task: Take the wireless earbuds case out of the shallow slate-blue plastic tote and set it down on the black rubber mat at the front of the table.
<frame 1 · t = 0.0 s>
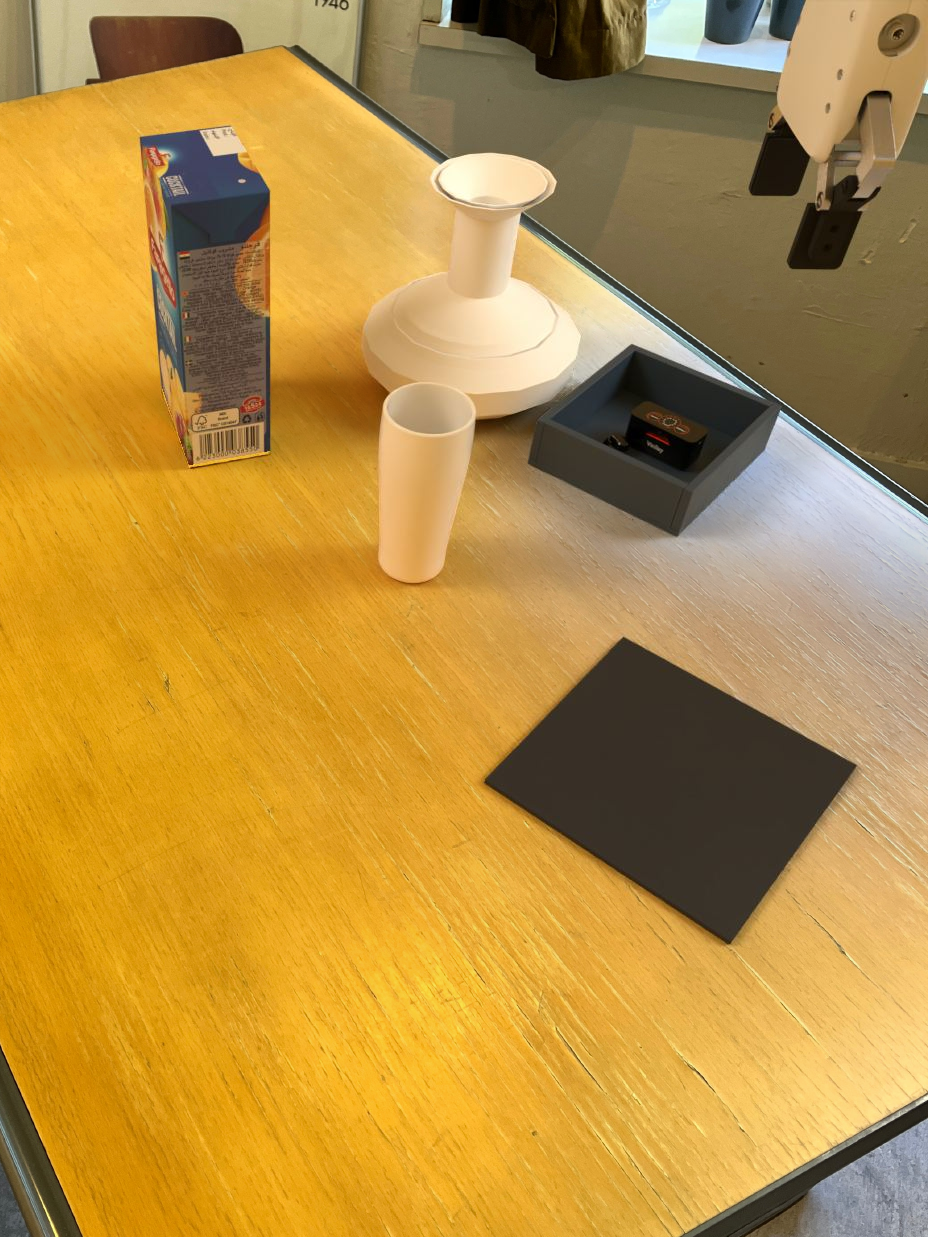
hand: (791, 229, 73), 26 cm above the table, tool pointing down, fingers open, 9 cm apart
drinking glass: (410, 565, 91), on the table
white ceramic vase shape: (463, 381, 108), on the table
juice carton: (214, 425, 104), on the table
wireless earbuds: (647, 454, 100), resting on tote
tote: (646, 456, 100), on the table
mat: (669, 775, 77), on the table
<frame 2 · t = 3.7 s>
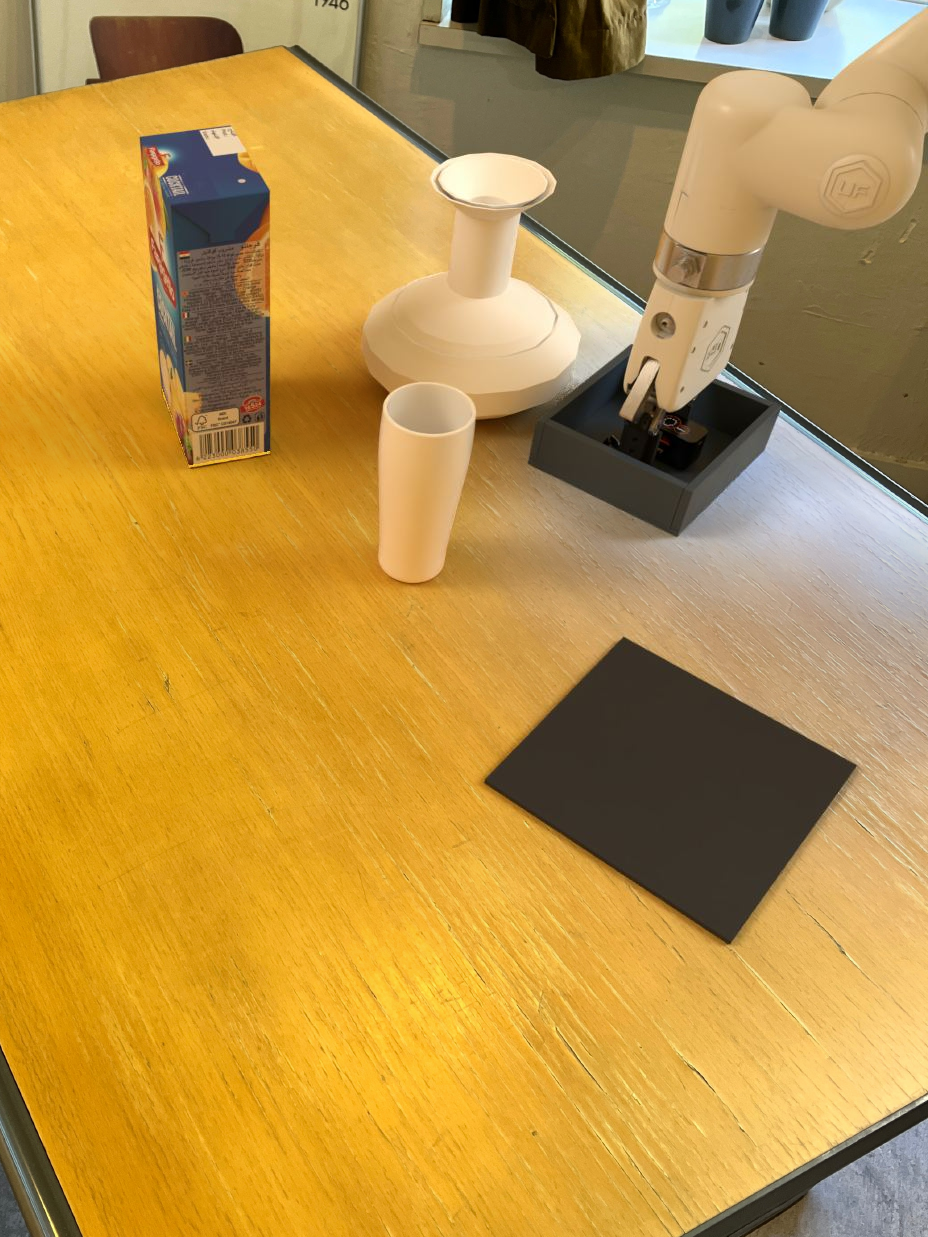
hand: (649, 447, 99), 1 cm above the table, tool pointing down, fingers closed on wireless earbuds, 4 cm apart
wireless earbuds: (647, 454, 100), resting on tote, touching gripper
everything else where it was.
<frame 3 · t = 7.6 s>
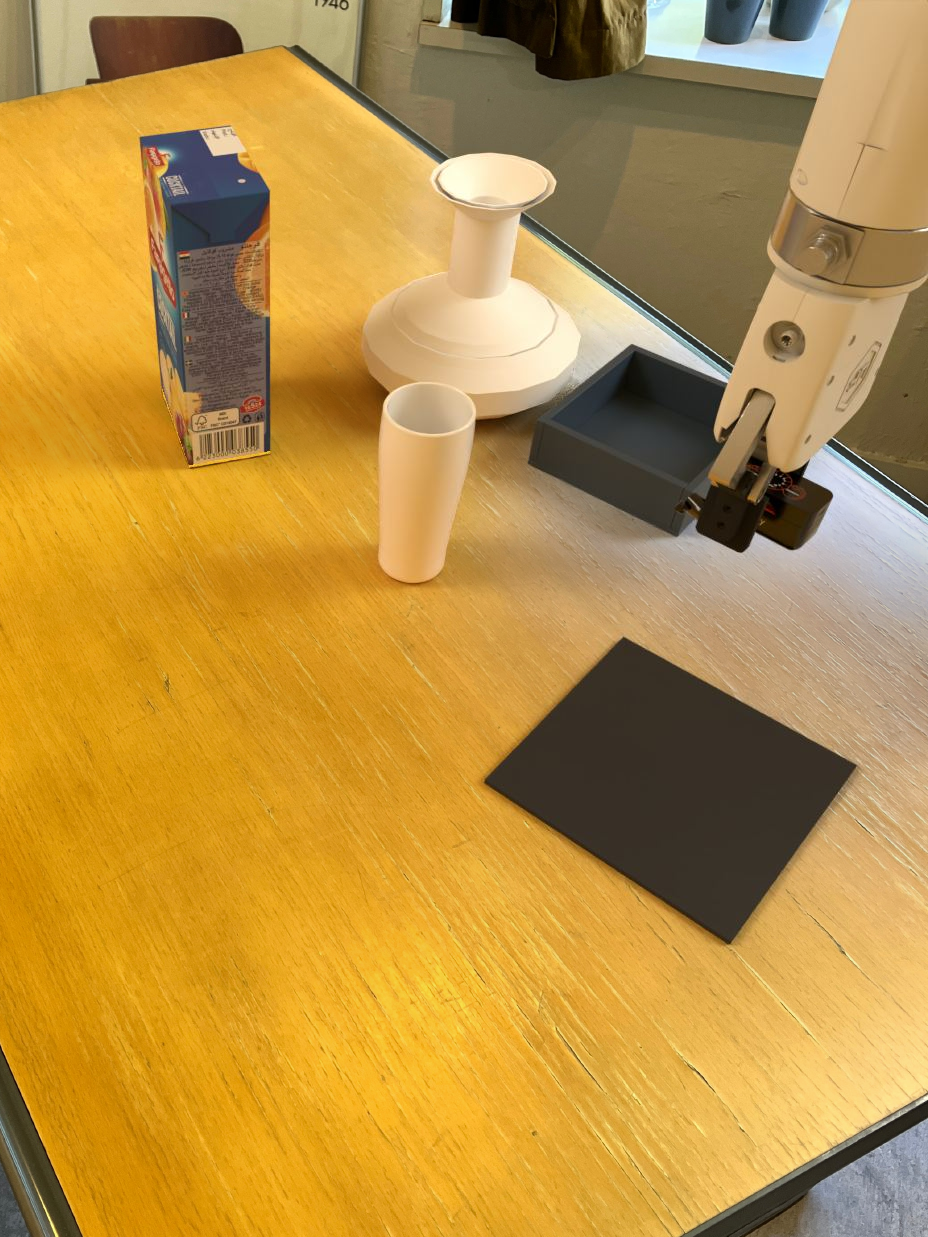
hand: (743, 516, 68), 17 cm above the table, tool pointing down, fingers closed on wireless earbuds, 4 cm apart
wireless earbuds: (739, 524, 69), point 17 cm above the table, touching gripper
everything else where it was.
when the fingers open (1 cm above the table, at t = 11.9 s): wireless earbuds stays where it is, resting on mat.
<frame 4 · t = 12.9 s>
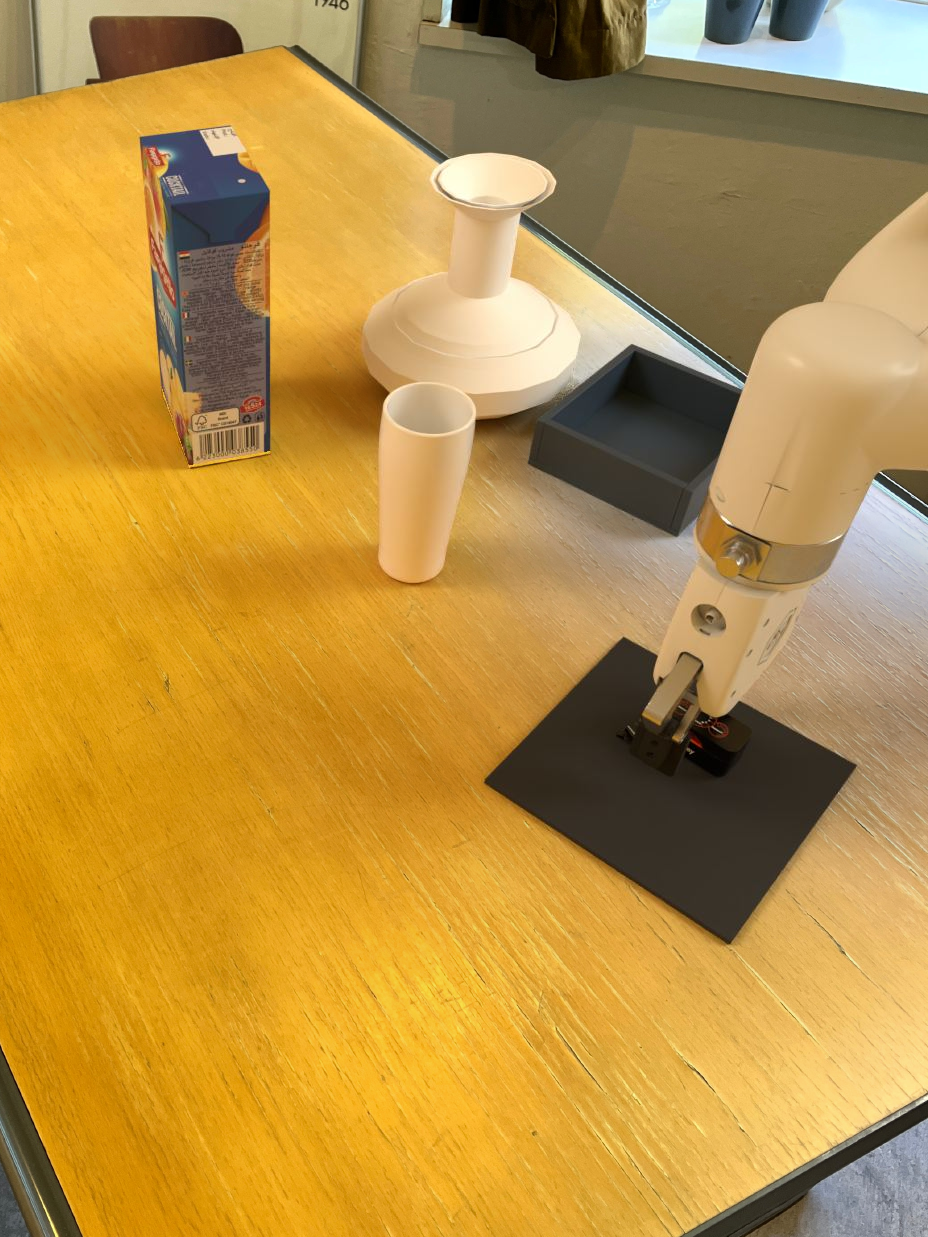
hand: (689, 719, 76), 3 cm above the table, tool pointing down, fingers open, 9 cm apart
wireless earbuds: (672, 748, 78), resting on mat
everything else where it was.
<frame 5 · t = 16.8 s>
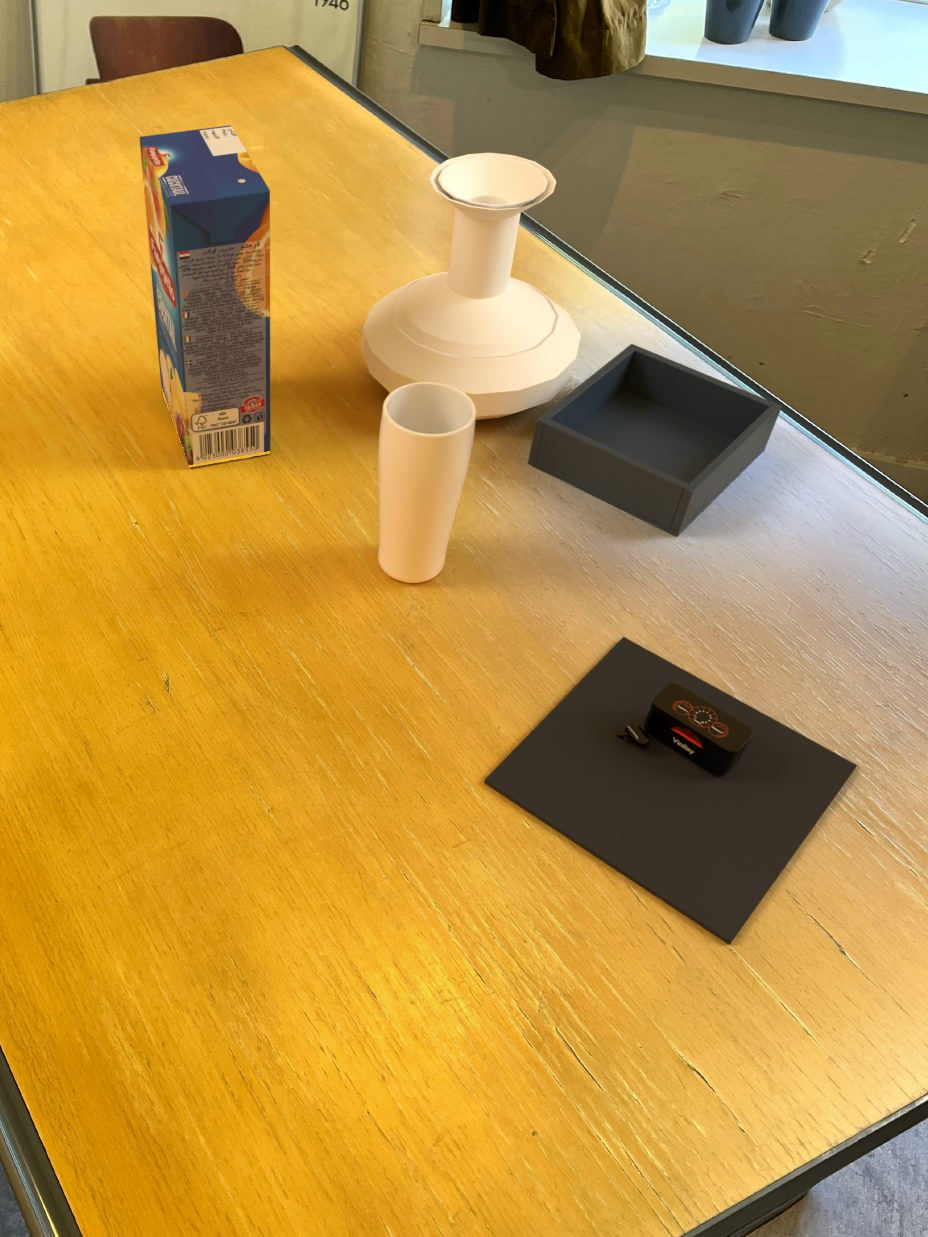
nothing on the table moved.
at the end: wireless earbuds inside the target area on the mat (2.3 cm from its centre), point 0.2 cm above the mat's base; the gripper is holding nothing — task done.
